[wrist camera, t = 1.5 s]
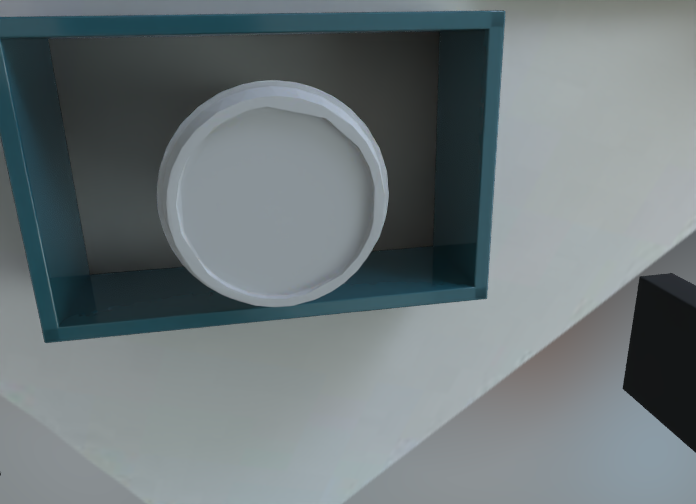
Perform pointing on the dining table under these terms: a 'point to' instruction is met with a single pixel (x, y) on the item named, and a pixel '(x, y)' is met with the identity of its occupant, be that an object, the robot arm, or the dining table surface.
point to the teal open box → (178, 283)
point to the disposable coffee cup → (272, 193)
